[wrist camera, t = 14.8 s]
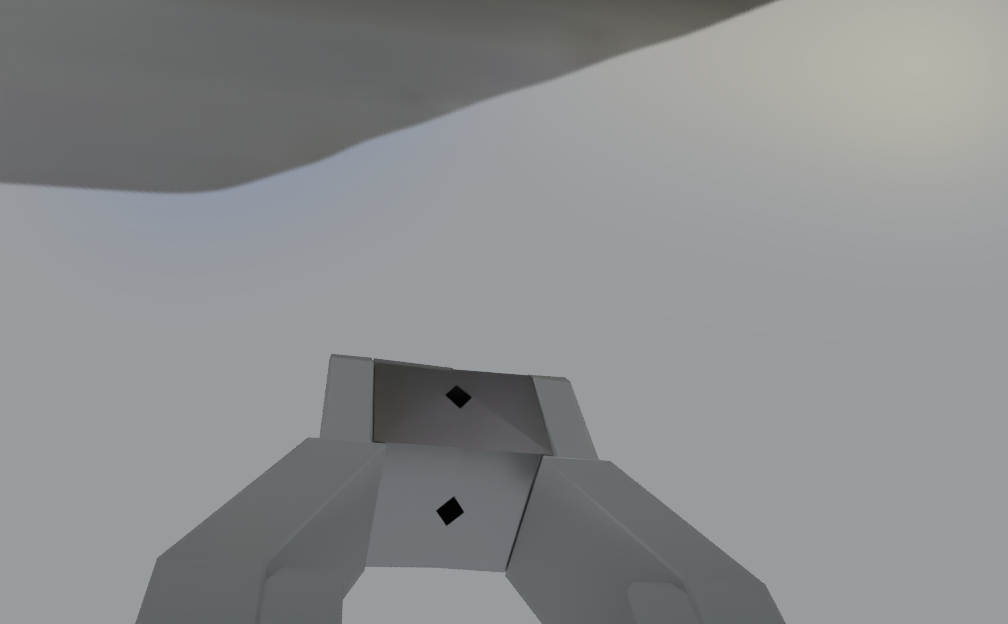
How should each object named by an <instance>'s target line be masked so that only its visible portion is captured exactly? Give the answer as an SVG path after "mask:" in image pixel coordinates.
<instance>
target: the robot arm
mask: <svg viewBox="0 0 1008 624" xmlns="http://www.w3.org/2000/svg"><path fill="white" fill-rule="evenodd" d="M365 567H432V568H433V567H435V568H436V567H437V568H449V569H463V570H477V571H492V572H506V577H507V578H508V580H509V581H510V582H511V584H512V585H513V586H514V588H515V589H516V590H517V592H518V593H519V594H520V596H521V597H522V598H523V599H524V601H525V602H526V603H527V605H528V606H529V607H530V608H531V610H532V611H533V613H534V614H535V615H536V616H537V618H538V619H539V620H540V622H541V623H542V624H786V623H785V621H784V619H783V618H782V616H781V614H780V612H779V610H778V608H777V606H776V604H775V603H774V600H773V598H772V597H771V595H770V593H769V591H768V589H767V587H766V585H765V584H764V583H762V582H761V581H760V580H759V579H757V578H756V577H755V576H754V575H752V574H751V573H750V572H749V571H747V570H746V569H745V568H744V567H742V566H741V565H740V564H738V563H737V562H736V561H735V560H734V559H732V558H731V557H730V556H729V555H727V554H726V553H725V552H724V551H722V550H721V549H720V548H718V547H717V546H716V545H715V544H713V543H712V542H711V541H709V540H708V539H707V538H706V537H705V536H703V535H702V534H701V533H700V532H698V531H697V530H696V529H695V528H693V527H692V526H691V525H690V524H688V523H687V522H686V521H685V520H683V519H682V518H681V517H680V516H678V515H677V514H676V513H675V512H673V511H672V510H671V509H670V508H668V507H667V506H666V505H664V504H663V503H662V502H661V501H659V500H658V499H657V498H656V497H655V496H653V495H652V494H651V493H650V492H648V491H647V490H646V489H644V488H643V487H642V486H641V485H639V484H638V483H637V482H636V481H634V480H633V479H632V478H631V477H629V476H628V475H627V474H626V473H624V472H623V471H622V470H621V469H619V468H618V467H617V466H616V465H614V464H613V463H612V462H611V461H603V460H599V459H598V456H597V453H596V451H595V448H594V445H593V443H592V440H591V437H590V434H589V432H588V429H587V426H586V423H585V421H584V418H583V415H582V413H581V410H580V407H579V405H578V402H577V399H576V397H575V394H574V391H573V388H572V386H571V383H570V381H569V380H567V379H566V378H565V377H551V376H536V375H515V374H503V373H492V372H479V371H467V370H455V369H453V368H447V367H439V366H431V365H423V364H414V363H406V362H399V361H390V360H382V359H374V360H372V358H367V357H357V356H347V355H346V356H345V355H336V354H331V357H330V360H329V368H328V375H327V384H326V391H325V399H324V407H323V415H322V423H321V431H320V438H307V439H306V440H304V441H303V442H302V443H301V444H300V445H298V446H297V447H296V448H295V449H293V450H292V451H291V452H289V454H287V455H286V456H285V457H283V458H282V459H281V460H279V461H278V462H277V463H276V464H275V465H273V466H272V467H271V468H270V469H268V470H267V471H266V472H265V473H263V474H262V475H261V476H260V477H258V478H257V479H256V480H255V481H253V482H252V483H251V484H249V485H248V486H247V487H246V488H245V489H243V490H242V491H241V492H239V493H238V494H237V495H236V496H235V497H233V498H232V499H231V500H229V501H228V502H227V503H226V504H224V505H223V506H222V507H221V508H219V509H218V510H217V511H216V512H214V513H213V514H212V515H211V516H209V517H208V518H207V519H206V520H204V521H203V522H202V523H201V524H199V525H198V526H197V527H196V528H194V529H193V530H192V531H191V532H189V533H188V534H187V535H186V536H184V537H183V538H182V539H181V540H179V541H178V542H177V543H176V544H174V545H173V546H172V547H171V548H169V549H168V550H167V551H166V552H164V553H163V554H162V555H161V556H159V557H158V558H157V561H156V564H155V567H154V570H153V573H152V576H151V579H150V582H149V585H148V587H147V591H146V593H145V597H144V599H143V602H142V605H141V608H140V611H139V614H138V617H137V620H136V623H135V624H342V604H343V602H342V601H343V599H344V597H345V596H346V594H347V593H348V592H349V591H350V589H351V588H352V587H353V585H354V584H355V582H356V581H357V580H358V578H359V577H360V576H361V574H362V573H363V572H364V569H365Z"/></svg>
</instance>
